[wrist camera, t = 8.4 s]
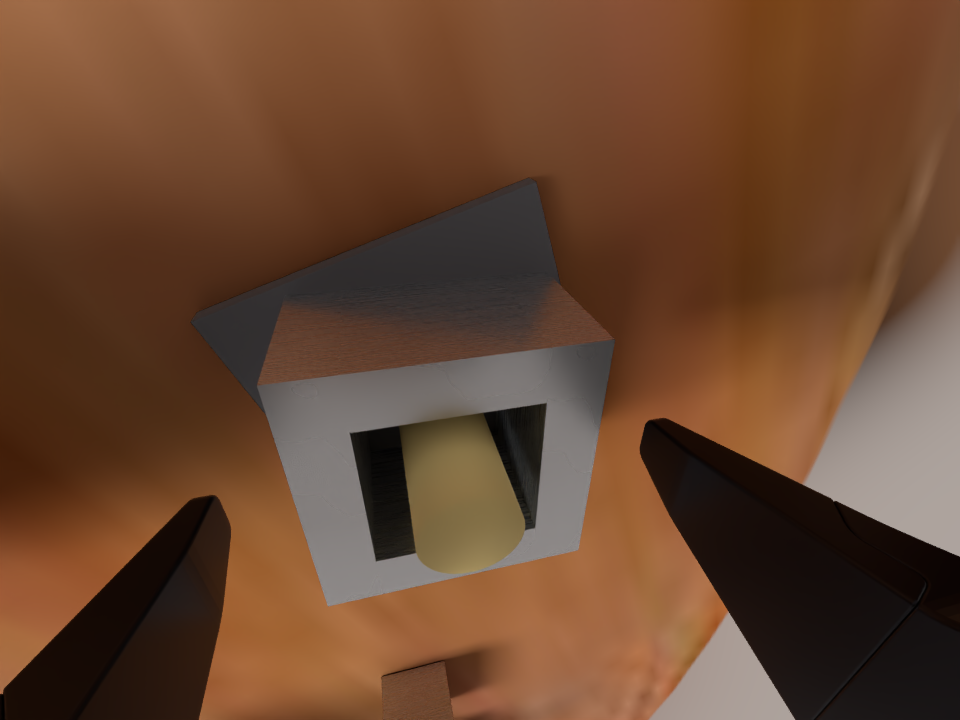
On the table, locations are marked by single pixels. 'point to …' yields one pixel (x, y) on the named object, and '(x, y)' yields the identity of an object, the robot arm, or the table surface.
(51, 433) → the table surface
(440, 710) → the link
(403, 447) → the grey peg holder
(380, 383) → the end link
